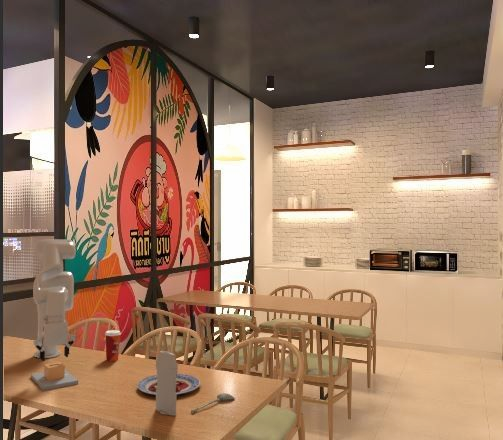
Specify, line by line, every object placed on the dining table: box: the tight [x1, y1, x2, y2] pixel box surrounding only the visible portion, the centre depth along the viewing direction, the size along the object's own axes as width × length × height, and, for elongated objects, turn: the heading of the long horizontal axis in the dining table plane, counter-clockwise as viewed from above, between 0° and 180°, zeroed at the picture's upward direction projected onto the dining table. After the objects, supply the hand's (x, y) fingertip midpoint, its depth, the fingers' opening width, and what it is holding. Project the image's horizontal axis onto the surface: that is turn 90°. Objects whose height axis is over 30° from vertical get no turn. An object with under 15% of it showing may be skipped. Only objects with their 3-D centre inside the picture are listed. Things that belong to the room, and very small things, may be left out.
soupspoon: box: [190, 392, 236, 415], centre depth 177 cm, size 22×3×7 cm
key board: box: [30, 369, 79, 392], centre depth 200 cm, size 20×14×5 cm
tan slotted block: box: [43, 361, 66, 381], centre depth 200 cm, size 7×7×5 cm
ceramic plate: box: [136, 373, 201, 396], centre depth 194 cm, size 26×26×3 cm
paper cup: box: [104, 329, 122, 362], centre depth 233 cm, size 8×8×14 cm
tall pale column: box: [155, 350, 179, 417], centre depth 169 cm, size 11×4×22 cm, turn 56°
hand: (54, 358), depth 201 cm, fingers open, 9 cm apart
